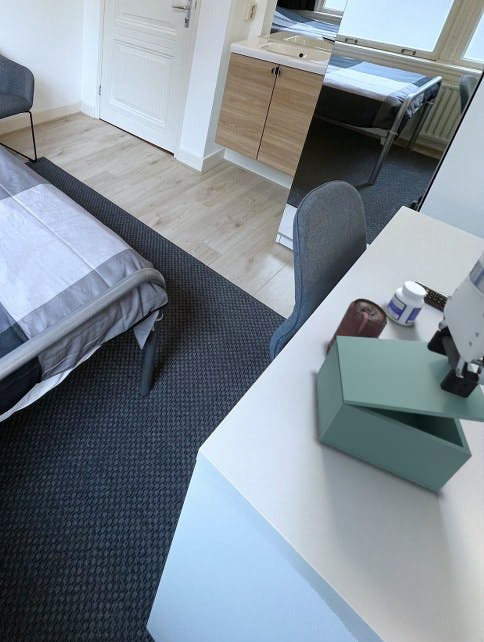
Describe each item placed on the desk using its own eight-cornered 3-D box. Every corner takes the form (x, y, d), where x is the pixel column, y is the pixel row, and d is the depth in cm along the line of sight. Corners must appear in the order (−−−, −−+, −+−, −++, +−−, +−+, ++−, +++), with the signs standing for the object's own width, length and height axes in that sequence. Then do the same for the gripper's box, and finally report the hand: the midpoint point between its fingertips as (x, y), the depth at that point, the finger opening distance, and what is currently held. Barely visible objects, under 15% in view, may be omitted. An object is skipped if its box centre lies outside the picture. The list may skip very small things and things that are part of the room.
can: (324, 361, 83) (350, 313, 76) (328, 339, 88) (353, 291, 81) (358, 379, 80) (389, 330, 74) (361, 355, 85) (389, 307, 78)
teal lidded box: (416, 416, 75) (445, 378, 70) (436, 493, 65) (472, 456, 60) (315, 376, 80) (335, 338, 75) (319, 441, 70) (343, 403, 65)
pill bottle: (409, 312, 96) (427, 284, 92) (414, 330, 92) (433, 301, 88) (383, 303, 98) (399, 275, 94) (386, 320, 94) (403, 291, 89)
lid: (462, 347, 67) (460, 320, 65) (494, 423, 56) (493, 393, 55) (337, 338, 75) (332, 314, 73) (344, 403, 65) (339, 376, 63)
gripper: (585, 350, 46) (500, 440, 54) (515, 251, 60) (456, 335, 69) (500, 325, 48) (431, 415, 57) (452, 235, 63) (403, 318, 71)
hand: (445, 370), depth 63 cm, fingers closed on lid, 6 cm apart
